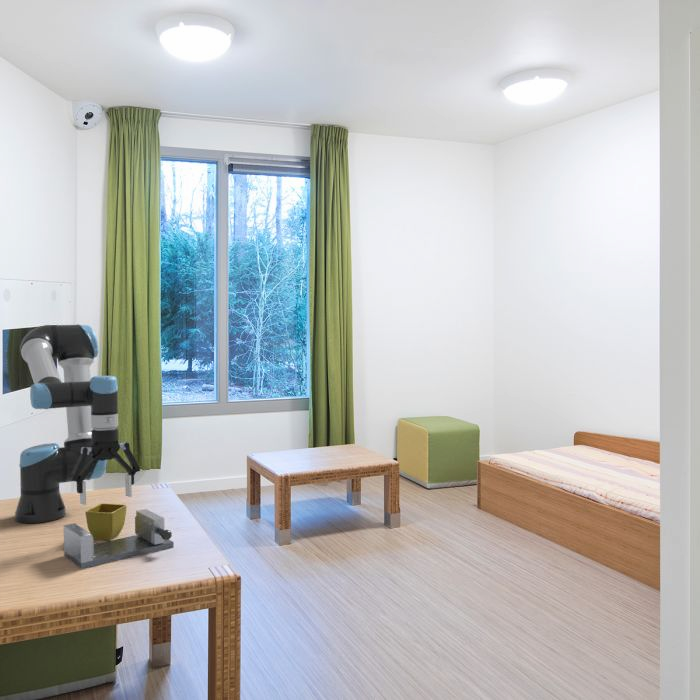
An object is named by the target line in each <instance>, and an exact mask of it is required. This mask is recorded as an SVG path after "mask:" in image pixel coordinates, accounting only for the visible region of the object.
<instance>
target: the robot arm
mask: <svg viewBox="0 0 700 700" xmlns="http://www.w3.org/2000/svg"><path fill="white" fill-rule="evenodd" d="M19 347H20V348H19V350H20V351H19V352H20V355H21V357H22V359H23V361H24V362H26V363H27V366H28V370H29V371H30V374H31V378H32V381H33V384H31V385H30V390H29V391H30V394H29V398H30V406H31V408H33V409H35V410H49V409H59V408H60V409H62V408H65V410H66V424H67V438H66V439H65V440H64V441H63V446H62V447H60V445H59V444H58V443H55V442H54V443H43V444H38V445H34V446H30V447H28V448H25V449H24V450H22V451H21V453H20V454H19V455H20V456H19V464H18V466H19V473H20V477H19V479H20V484H19V485H20V497H19V499H18V502H17V506H16V509H15V512H14V520H15V521H16V522H18V523H20V524H21V523H23V524H39V523H46V522H52V521H56V520H59V519H61V518H64V517H65V516H66V514H67V512H66V510H67V509H66V505H65V503H64V500H63V497H62V495H61V491H60V484H62V483H70V482H76V493H78V494H79V496H80V497H79V502H80V504H81V505H83V506H85V505H87V484H86V483H87V482H86V481H90V480H94V479H99V478H101V477H102V476H103V475H104V474H105V471H106V469H107V464H108V463H107V461H111V460H113V459H114V460H115V461H116V462H117V463H118V464H119V466H120V467H122V468H123V469H124V471H126V473H125V476H124V478H125V479H124V480H125V482H124V486H125V489H124V490H125V496H126V497H129V498H132V495H133V493H132V486H133V485H134V484H135V475H136V473H137V472H140V471H141V467H140V466H139V464H138V462H137V460H136V458H135V457H134V454H133V453H132V451H131V447H130V443H129V442H126V441H122V442H121V443H120V442H119V441H120V439H119V428H118V426H119V403H118V399H119V397H118V389H119V386H118V379H117V377H116V376H115V375H96V376H92V377H91V369H90V367H91V366H92V364H93V363H94V362H95V360H94V359H95V358H97V357H98V354H99V345H98V339H97V334H96V331H95V330H94V328H93V327H92V326H91V325H88V324H85V325H84V324H78V323H77V324H60V325H59V324H54V325H53V324H44V325H40V326H38V327H35V328H33V329H31V330H30V331H28V332H27V334H26V335H25V336H24V337H23V339H22V340H21V343H20V346H19ZM54 359H56V360H57V365H58V366H60V368H62V370H63V382H62V379H61V377H60V374H59V371H58V369H57V366H56V364H55V361H54ZM120 449H121V450H122V451H123V453H124V454H125V457H126V459H127V461H128V462H129V464H128V463H127V462H126V461H125V460H124V459H123V458H122V456H121V455H120V454H119V450H120Z"/></svg>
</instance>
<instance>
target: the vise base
mask: <svg viewBox="0 0 700 700" xmlns="http://www.w3.org/2000/svg"><path fill="white" fill-rule="evenodd" d="M171 548H174V541H172V540H171V539H169V540H165V542H164V543H160V544H155V545H154V544H152V543H151V542H149V541H147V540H145V539H143V538H142V537H140V536H138V535H136V534H135V535H131V536H130V535H129V536H125V537H121V538H117V539H116V538H115V539H111V540H106V541H103V542H98V543H95V539H94V537H93V536H92V534H91V533H90V531H89V530H88V531H87V530H86V529H84V528H83V527H81V526H80V525H78V524H76V522H75V523H74V522H73V523H70V524H69V523H68V524H65V525H63V556H64V557H65V558H66V559H68V561H70V562H71V563H72V564H74V565H75V566H76V567H78V568H79V569H81V570H83V569H87V568H92V567H96V566H99V565H104V564H108V563H111V562H112V563H113V562H115V561H116V562H118V561H121V560H125V559H129V558H133V557H138V556H143V555H146V554H150V553H155V552H159V551H163V550H167V549H171Z"/></svg>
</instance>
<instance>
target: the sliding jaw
mask: <svg viewBox="0 0 700 700" xmlns="http://www.w3.org/2000/svg"><path fill="white" fill-rule="evenodd" d="M135 514H136V515H135V516H134V534H135V535H138V536H140V537H142V538H143V539H145V540H147V541H149V542H151V543H152V544H154V545H155V544H160V543H164V542H165V540H171V538H172V531H171V530H170V529H165V517H163V516H161V515H160V514H157V513H155V512H154V511H150V510H149V509H146V508H145V509H140V510H135Z"/></svg>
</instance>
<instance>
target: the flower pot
mask: <svg viewBox="0 0 700 700" xmlns="http://www.w3.org/2000/svg"><path fill="white" fill-rule="evenodd" d="M127 507H128V506H127V504H120V503H119V504H118V503H117V504H116V503H99V504H98V505H95V506H93V507H91V508H89V509H87V510H85V513H84V514H85V519H86V524H87V529H88V532H89V533H91V534H92V538H93V539H94V540H101V541H111V540H114V539H115V538H116V537H118V536H119V535H120V533H121V532H122V530H123V528H124V525H125V522H126V516H127V515H126V514H127Z"/></svg>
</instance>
